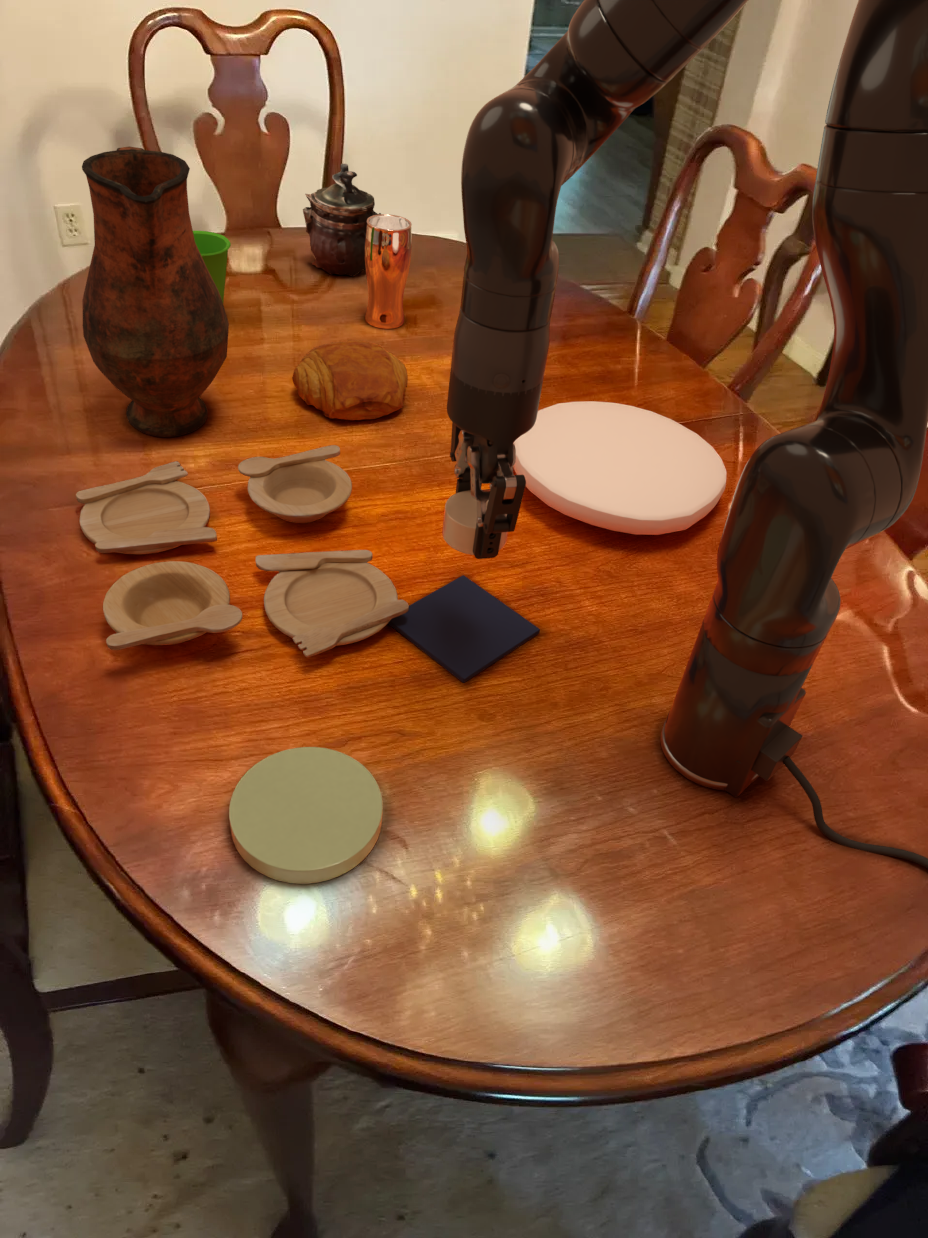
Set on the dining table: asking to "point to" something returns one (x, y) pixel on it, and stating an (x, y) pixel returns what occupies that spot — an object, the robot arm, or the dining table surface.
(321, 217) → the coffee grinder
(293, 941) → the dining table surface
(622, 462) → the white thick round disc
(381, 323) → the beer glass
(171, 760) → the dining table surface
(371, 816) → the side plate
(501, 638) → the felt mat
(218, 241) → the cup
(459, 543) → the beige short cylinder
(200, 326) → the pitcher
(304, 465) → the tableware set
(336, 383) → the croissant
